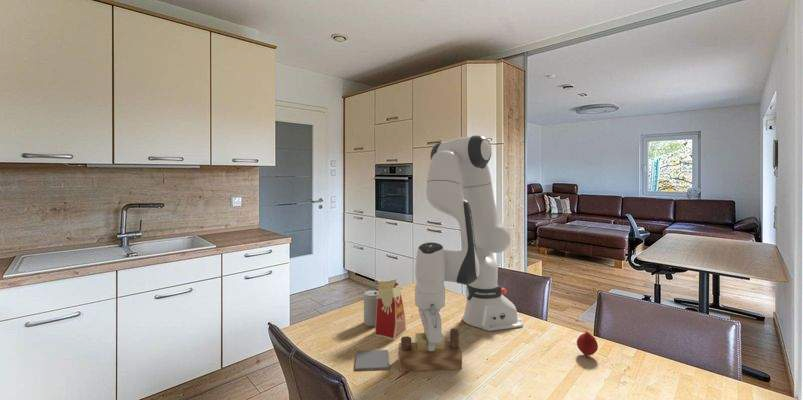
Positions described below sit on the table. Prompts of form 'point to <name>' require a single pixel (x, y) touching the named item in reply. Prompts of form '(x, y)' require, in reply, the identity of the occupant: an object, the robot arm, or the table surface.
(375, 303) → the beverage can
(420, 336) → the wooden block
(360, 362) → the mat
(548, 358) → the table surface
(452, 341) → the plane body
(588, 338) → the onion
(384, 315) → the milk carton
